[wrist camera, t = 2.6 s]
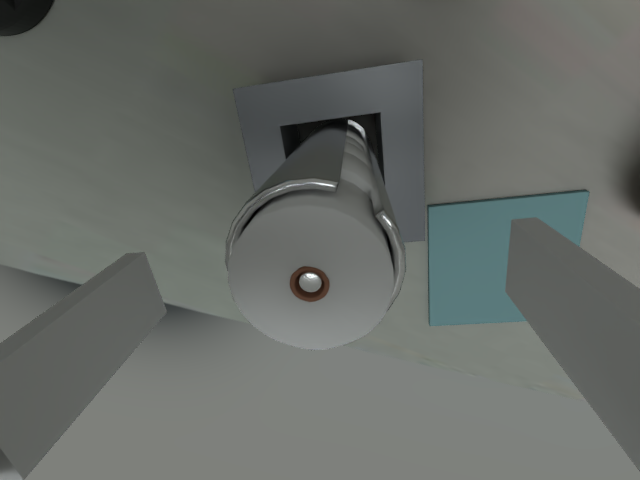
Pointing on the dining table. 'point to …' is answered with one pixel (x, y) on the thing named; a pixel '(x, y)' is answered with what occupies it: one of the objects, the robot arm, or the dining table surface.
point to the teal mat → (487, 252)
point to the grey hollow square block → (336, 102)
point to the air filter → (318, 244)
